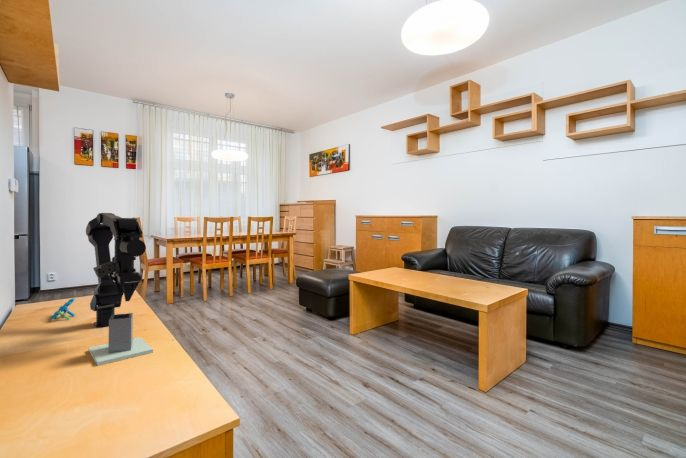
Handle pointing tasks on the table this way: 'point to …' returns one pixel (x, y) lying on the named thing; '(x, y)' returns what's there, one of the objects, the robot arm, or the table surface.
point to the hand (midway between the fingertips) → (123, 298)
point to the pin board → (104, 357)
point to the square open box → (120, 332)
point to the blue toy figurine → (64, 310)
